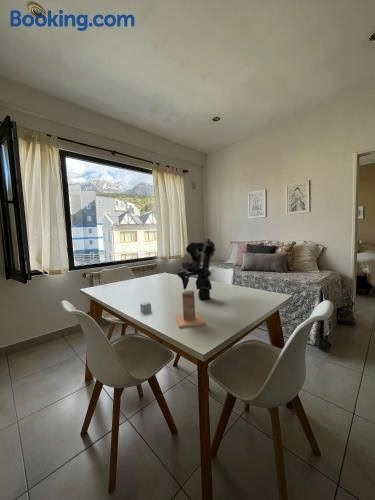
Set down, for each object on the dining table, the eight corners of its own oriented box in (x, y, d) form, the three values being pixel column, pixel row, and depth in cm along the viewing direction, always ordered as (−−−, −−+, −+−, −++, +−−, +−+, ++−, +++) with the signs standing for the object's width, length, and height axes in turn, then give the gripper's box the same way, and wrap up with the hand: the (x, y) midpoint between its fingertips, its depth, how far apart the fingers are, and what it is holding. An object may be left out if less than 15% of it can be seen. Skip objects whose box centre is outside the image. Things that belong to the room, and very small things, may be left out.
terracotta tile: (198, 314, 105) (198, 312, 105) (205, 324, 93) (205, 322, 93) (175, 317, 103) (175, 315, 102) (179, 327, 91) (179, 325, 91)
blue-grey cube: (148, 308, 116) (147, 301, 115) (151, 311, 112) (150, 303, 111) (140, 310, 113) (140, 302, 113) (143, 313, 109) (142, 305, 109)
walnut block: (186, 316, 100) (185, 290, 99) (195, 317, 99) (194, 290, 98) (183, 320, 96) (182, 293, 95) (192, 321, 95) (191, 293, 94)
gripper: (173, 258, 114) (168, 284, 107) (200, 252, 103) (196, 281, 95) (186, 266, 121) (181, 291, 114) (212, 262, 110) (209, 289, 103)
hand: (191, 288), depth 106 cm, fingers open, 9 cm apart
